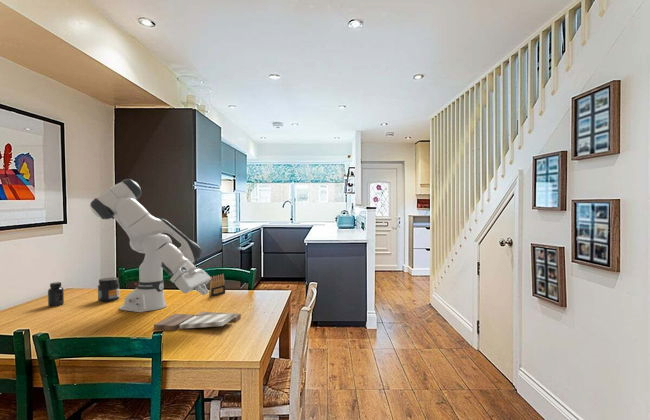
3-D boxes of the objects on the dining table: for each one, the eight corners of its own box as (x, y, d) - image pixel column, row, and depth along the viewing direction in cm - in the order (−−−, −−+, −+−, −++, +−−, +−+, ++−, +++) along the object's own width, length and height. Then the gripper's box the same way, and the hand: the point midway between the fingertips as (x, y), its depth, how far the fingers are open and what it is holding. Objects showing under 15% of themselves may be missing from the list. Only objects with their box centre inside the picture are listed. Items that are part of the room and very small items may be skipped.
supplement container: (123, 299, 207) (123, 278, 207) (103, 303, 199) (103, 281, 198) (113, 296, 213) (113, 276, 213) (94, 301, 204) (93, 279, 204)
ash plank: (179, 328, 158) (179, 324, 158) (194, 320, 170) (193, 316, 170) (222, 325, 154) (222, 321, 154) (234, 317, 166) (234, 313, 166)
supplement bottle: (45, 306, 194) (44, 283, 193) (58, 303, 200) (58, 281, 200) (53, 307, 191) (53, 284, 191) (66, 304, 197) (66, 282, 197)
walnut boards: (153, 329, 158) (153, 324, 158) (181, 314, 178) (181, 310, 178) (220, 333, 152) (220, 328, 152) (240, 317, 173) (240, 313, 173)
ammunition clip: (211, 297, 212) (211, 276, 212) (209, 296, 213) (209, 276, 213) (225, 293, 221) (225, 273, 221) (223, 292, 222) (223, 273, 222)
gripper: (193, 271, 174) (212, 292, 173) (167, 281, 154) (189, 304, 153) (201, 262, 174) (221, 283, 172) (177, 270, 153) (199, 294, 152)
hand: (206, 293), depth 162 cm, fingers closed
